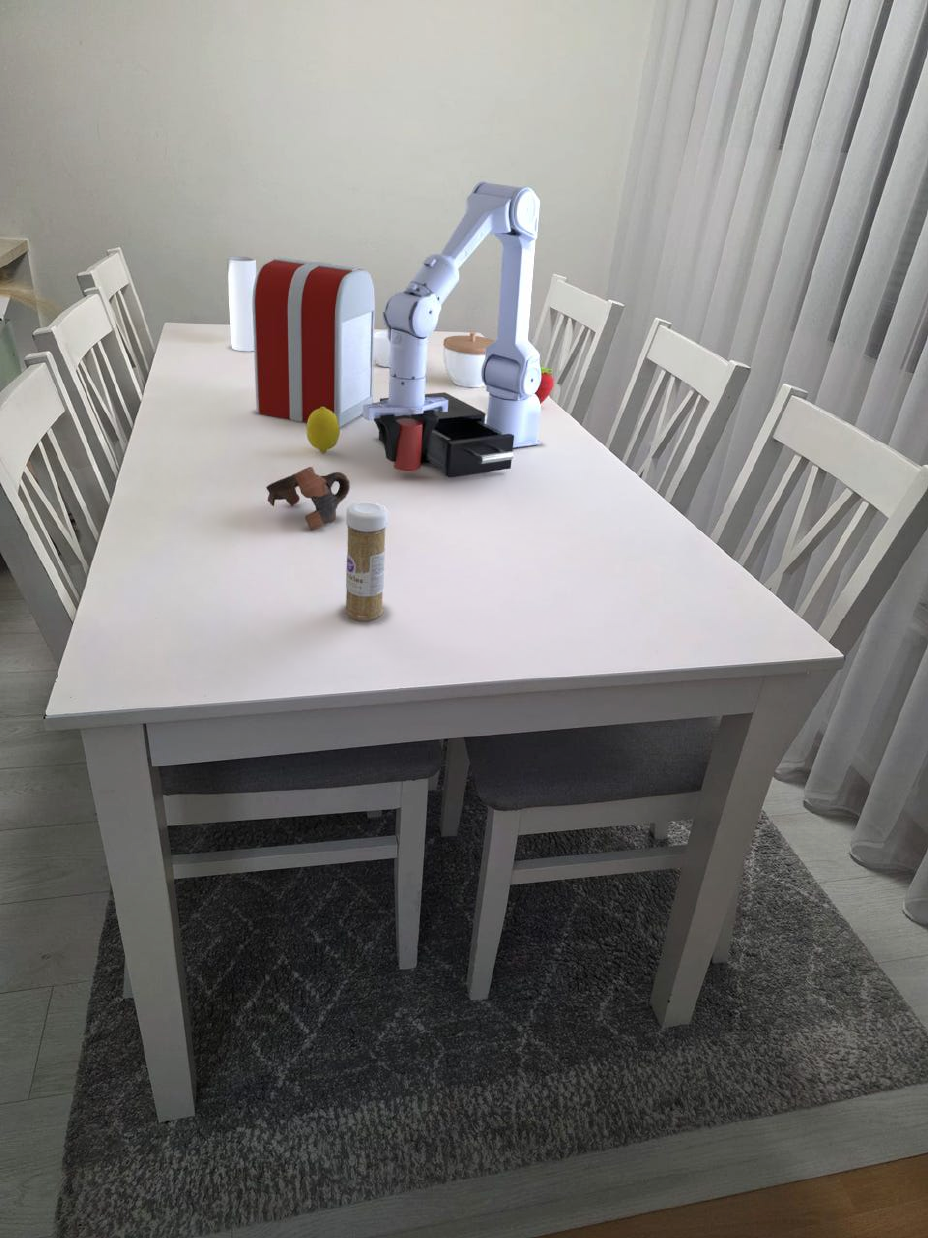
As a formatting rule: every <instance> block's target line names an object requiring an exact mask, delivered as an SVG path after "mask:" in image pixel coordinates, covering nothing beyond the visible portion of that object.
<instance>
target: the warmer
mask: <svg viewBox="0 0 928 1238" xmlns="http://www.w3.org/2000/svg"><path fill="white" fill-rule="evenodd" d="M439 397H443V398H444V399H446V400H448V411H447V412H440V411H438V412H435V415H437V416H438V423H443V422H451V421H460V420H469V419H477V420H479V421H481V422H483V423H485V422H486V412H484V411H482V410H480V409H478V408H476V407H475V406H473V405H470V404H468V403H467V402H464V401H462V400H461V399H458V398H457V397H455V396H453V395H451V394H449V393H448V392H444V391H443V392H433V393H425V398H439ZM388 399H389V397H384V398H383V397H381V398H379V402H380V401H384V400H388ZM403 418H411V414H410V415H401V416H395V419H396V420H398V419H403ZM485 424H486V423H485ZM378 441H380V442H381V443H383V440H382V437H381V434H380V432H379V431H378ZM428 463H431V462H430V461H429V460H427V459H426V458H424V457H422V458H421V464H420V465H423V464H428Z"/></svg>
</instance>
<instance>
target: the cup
mask: <svg viewBox="0 0 928 1238" xmlns="http://www.w3.org/2000/svg"><path fill="white" fill-rule="evenodd" d="M373 362H376V363H377V365H378V366H379V367H383V368H384V367H385V368H390V341H389V339H388V331H374V358H373Z"/></svg>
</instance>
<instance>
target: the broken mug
mask: <svg viewBox="0 0 928 1238" xmlns="http://www.w3.org/2000/svg"><path fill="white" fill-rule="evenodd" d="M335 482H337V483H338V485H339V486H338V490H337V492H336V493H333V491H332V487H333V485H334V484H335ZM350 482H351V481H350V480H349V478H348V477H347V475H346V474H344V473H343V472H341V471H333V472H330V473H328V474H326V475H319V474H317V473H316V472H315V470H314V467H313V466H309V467H306V468H304V469H302V470H299V471H297V472H295V473H293V474H291V475H289V476H286V477H284V478H281V479H279V480H276V481H273V482H271V483H270V484H267V486H266V487H265V488H266V490H267V492H268V496H267V502H268V503H269V504H270V505H271V506H272V507H274V506H275V501H283V500H285V501H286V503H288V504H289V505H290V506H292V507H293V506H295V505H296V504H298V503H299V502H300V500H301V499H300V496H299V495H298V492H297V487H298V489H299V491H300V494H301V495H302V496H303V497H304V498H306V499H311V502H312V503H313V505H314V507H315V510H314V511H312V512H310V513H308V514H305V516H304V519H305V521H306V523H307V526H308V528H309V530H310V531H313V530H316V529H318V528H321V527H323V526H325V525H328V524H331V523H333V522H335V521H336V520H337V508H338V506H339V505H340V503H341V502H342V501H344V500H345V499H346V498H347V496H348V495H349V492H350V487H351V484H350Z"/></svg>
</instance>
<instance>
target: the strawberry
mask: <svg viewBox="0 0 928 1238" xmlns="http://www.w3.org/2000/svg"><path fill="white" fill-rule="evenodd" d="M546 361H547V359H545V360H544V361H543V362H542V364H541V365H540V370H541V382H540V385H539V387H538V389H537V391H536V392H535V393H534V394H535V395H536V396H537V397H538V399H539V401H540V405H542V403H544V402H545V401H546V400H547V398H548V397H549V396H550V394H551V393H552V390H553V388H554V387H555V385H554V384H555V382H554V381H555V380H554V377H553V374H552V372H555V371H556V370H555V369H550V368H546V369H545V368H544V367H543V365H544V364H545V363H546Z"/></svg>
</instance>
